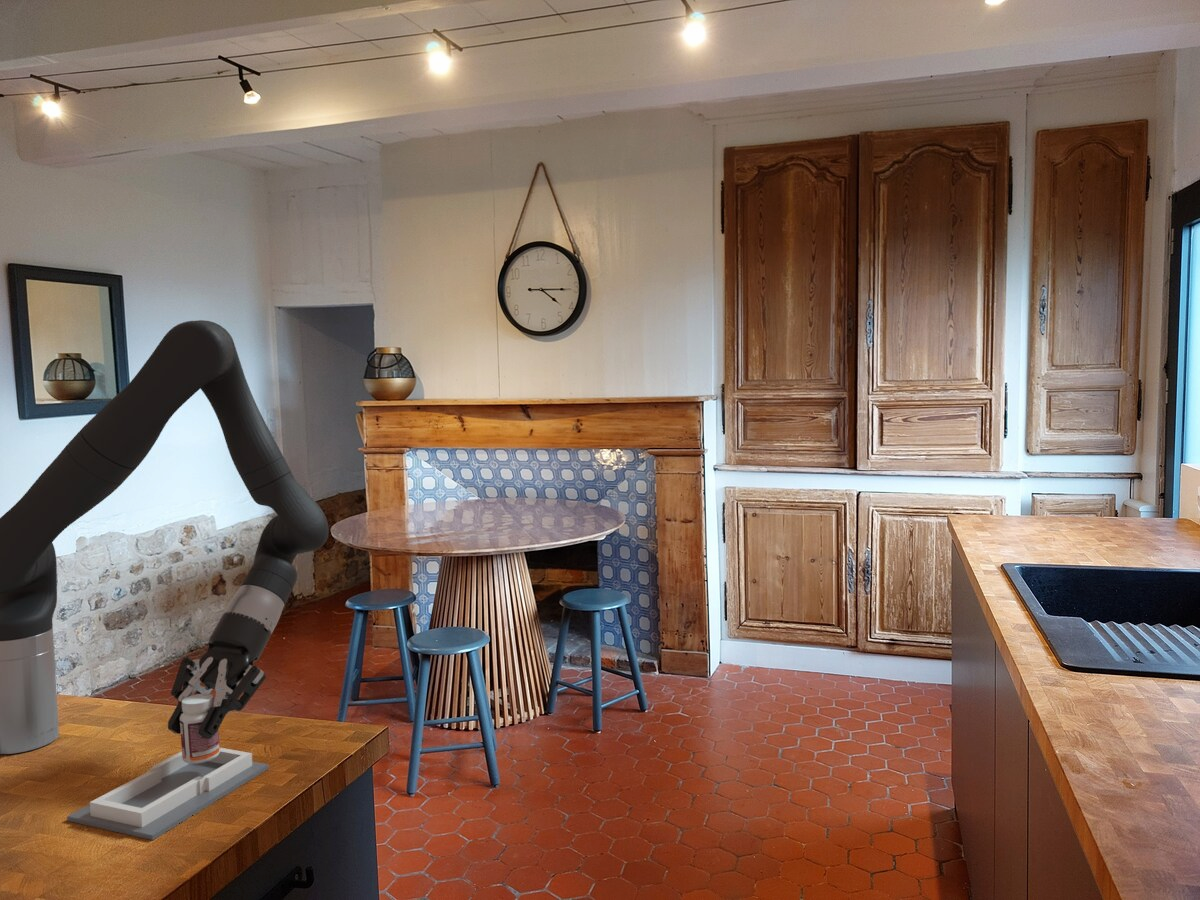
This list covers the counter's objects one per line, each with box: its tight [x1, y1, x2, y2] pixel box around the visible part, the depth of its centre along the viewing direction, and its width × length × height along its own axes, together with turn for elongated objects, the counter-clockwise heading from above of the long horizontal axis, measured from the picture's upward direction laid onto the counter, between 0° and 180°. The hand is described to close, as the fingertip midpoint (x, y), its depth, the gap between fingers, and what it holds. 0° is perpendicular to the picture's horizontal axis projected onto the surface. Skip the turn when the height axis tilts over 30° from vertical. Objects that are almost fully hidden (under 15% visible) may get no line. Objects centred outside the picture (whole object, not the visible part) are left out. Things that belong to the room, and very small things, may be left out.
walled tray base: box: [66, 747, 270, 841], centre depth 114 cm, size 14×20×2 cm
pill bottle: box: [180, 693, 221, 764], centre depth 118 cm, size 5×5×8 cm
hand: (188, 733), depth 116 cm, fingers closed on pill bottle, 4 cm apart
